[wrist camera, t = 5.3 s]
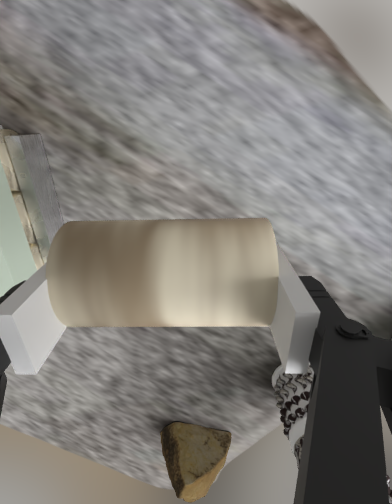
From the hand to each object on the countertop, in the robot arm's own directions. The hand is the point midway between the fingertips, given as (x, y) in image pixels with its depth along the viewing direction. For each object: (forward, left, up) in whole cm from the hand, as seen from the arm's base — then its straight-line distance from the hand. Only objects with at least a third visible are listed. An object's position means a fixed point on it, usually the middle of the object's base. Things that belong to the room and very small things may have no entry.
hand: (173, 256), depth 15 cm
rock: (0, -39, -13) cm, 41 cm away
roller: (0, 0, 0) cm, 0 cm away
